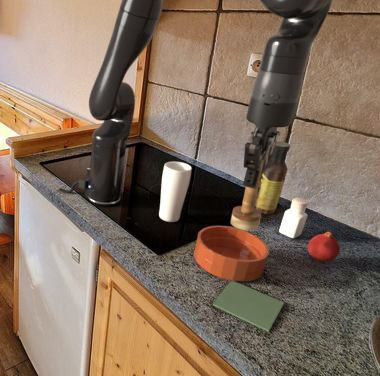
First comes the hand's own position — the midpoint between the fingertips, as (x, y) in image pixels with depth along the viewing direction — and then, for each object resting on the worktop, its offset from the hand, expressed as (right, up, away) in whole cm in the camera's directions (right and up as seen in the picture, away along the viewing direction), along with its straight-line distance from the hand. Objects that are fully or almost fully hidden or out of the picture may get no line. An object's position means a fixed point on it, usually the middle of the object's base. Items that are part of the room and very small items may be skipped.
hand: (251, 184), depth 80 cm
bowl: (0, -18, +10) cm, 20 cm away
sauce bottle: (+20, -7, +34) cm, 40 cm away
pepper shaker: (+21, -13, +22) cm, 33 cm away
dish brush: (0, -8, +3) cm, 9 cm away
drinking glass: (-8, -9, +28) cm, 31 cm away
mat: (-2, -23, -2) cm, 23 cm away
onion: (+21, -18, +12) cm, 30 cm away
